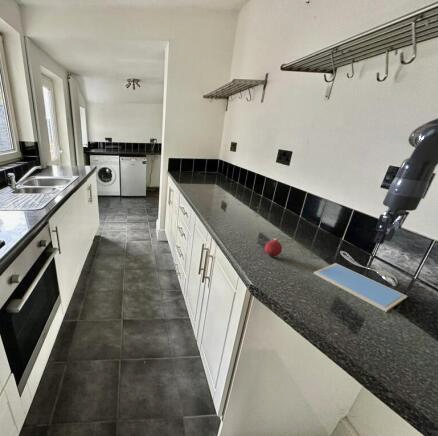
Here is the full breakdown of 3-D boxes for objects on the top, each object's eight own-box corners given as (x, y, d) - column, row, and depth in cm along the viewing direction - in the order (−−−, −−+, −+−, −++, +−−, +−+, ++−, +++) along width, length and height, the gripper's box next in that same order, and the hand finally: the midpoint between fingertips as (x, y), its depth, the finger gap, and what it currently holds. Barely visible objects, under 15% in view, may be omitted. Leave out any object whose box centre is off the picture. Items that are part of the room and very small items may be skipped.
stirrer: (338, 246, 93) (348, 246, 94) (334, 254, 94) (344, 253, 95) (393, 280, 75) (405, 279, 76) (388, 288, 77) (399, 287, 77)
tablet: (334, 264, 88) (335, 262, 87) (406, 298, 71) (408, 295, 71) (313, 273, 82) (314, 271, 82) (386, 312, 65) (387, 309, 65)
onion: (274, 262, 88) (279, 243, 85) (260, 255, 92) (264, 237, 89) (281, 257, 91) (287, 239, 88) (267, 251, 95) (272, 234, 92)
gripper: (411, 198, 65) (386, 250, 72) (431, 193, 71) (406, 242, 78) (378, 191, 72) (357, 240, 78) (399, 187, 77) (378, 233, 84)
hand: (382, 241), depth 78 cm, fingers open, 5 cm apart
